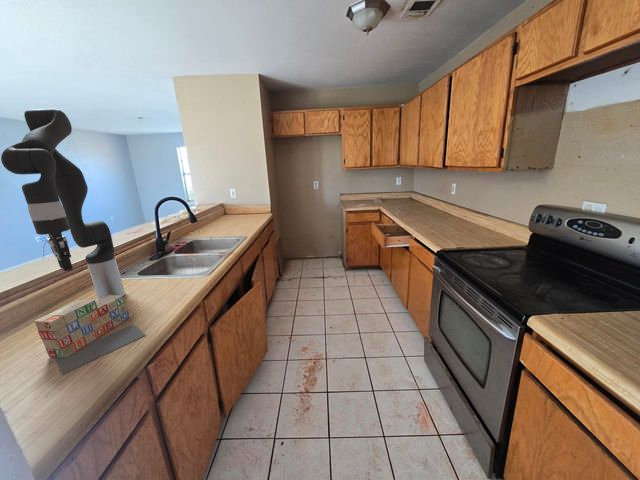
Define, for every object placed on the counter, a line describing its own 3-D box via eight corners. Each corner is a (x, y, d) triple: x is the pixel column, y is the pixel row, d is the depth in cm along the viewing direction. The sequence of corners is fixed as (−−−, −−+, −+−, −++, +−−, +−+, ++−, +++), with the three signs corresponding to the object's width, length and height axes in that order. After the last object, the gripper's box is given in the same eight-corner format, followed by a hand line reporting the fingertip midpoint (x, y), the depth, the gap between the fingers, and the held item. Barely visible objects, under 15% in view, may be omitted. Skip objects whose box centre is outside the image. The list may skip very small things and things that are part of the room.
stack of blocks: (116, 317, 96) (107, 287, 93) (130, 318, 95) (121, 287, 92) (48, 357, 76) (33, 320, 73) (64, 358, 75) (50, 321, 72)
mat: (54, 358, 76) (54, 358, 76) (133, 324, 91) (133, 324, 91) (63, 375, 69) (62, 374, 69) (146, 335, 84) (145, 334, 84)
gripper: (28, 217, 81) (46, 268, 86) (35, 221, 73) (55, 277, 77) (60, 213, 87) (76, 261, 92) (70, 216, 78) (87, 269, 83)
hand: (66, 268), depth 84 cm, fingers open, 4 cm apart
